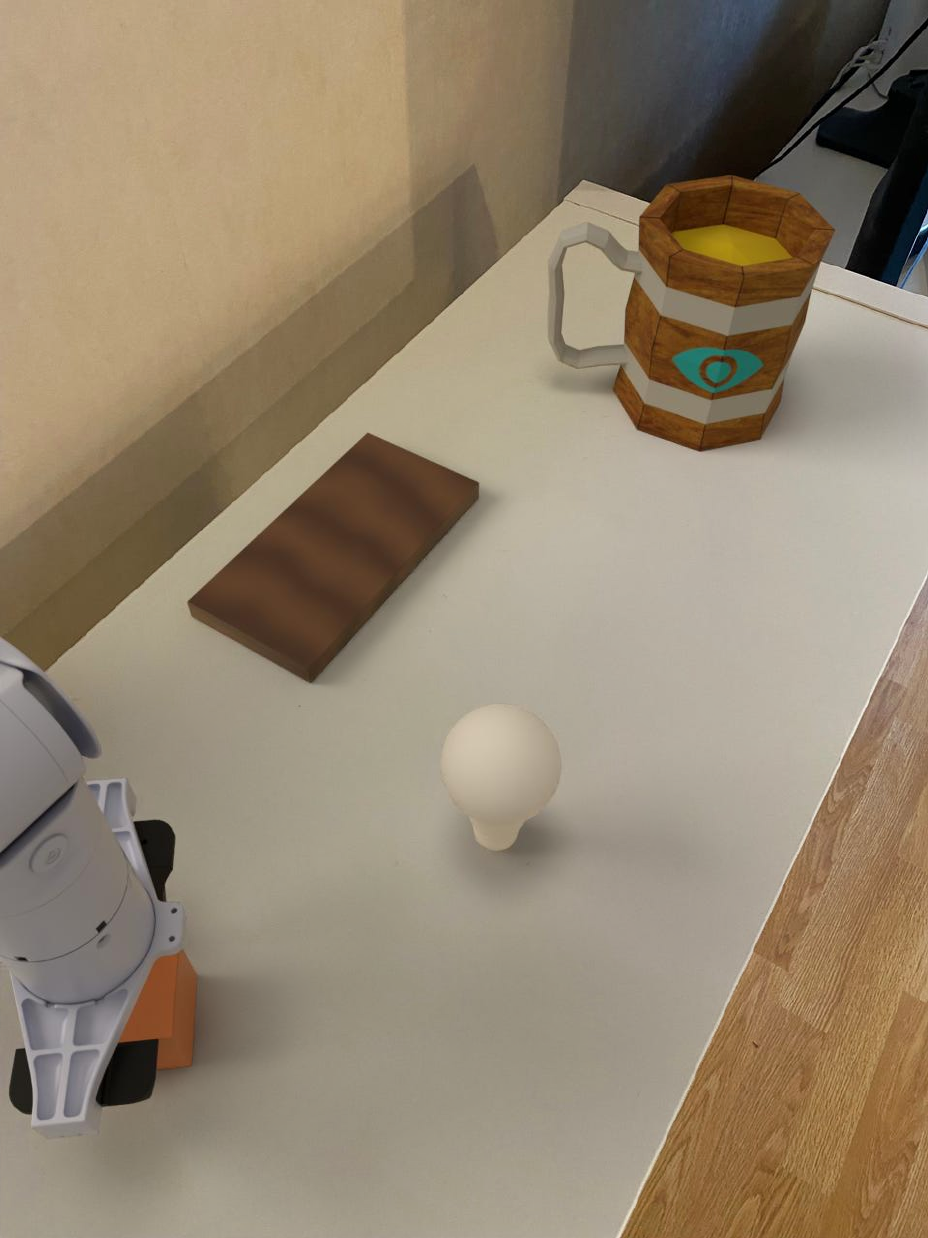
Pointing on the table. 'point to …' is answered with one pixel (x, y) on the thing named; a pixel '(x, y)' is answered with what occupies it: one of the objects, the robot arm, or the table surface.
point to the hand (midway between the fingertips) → (137, 1007)
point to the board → (334, 555)
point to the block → (166, 1011)
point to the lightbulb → (500, 770)
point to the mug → (704, 307)
